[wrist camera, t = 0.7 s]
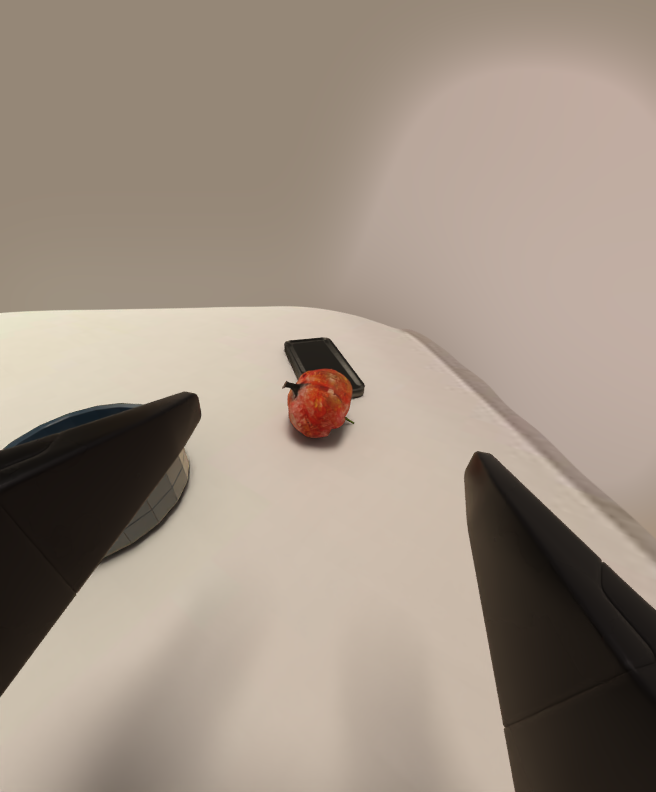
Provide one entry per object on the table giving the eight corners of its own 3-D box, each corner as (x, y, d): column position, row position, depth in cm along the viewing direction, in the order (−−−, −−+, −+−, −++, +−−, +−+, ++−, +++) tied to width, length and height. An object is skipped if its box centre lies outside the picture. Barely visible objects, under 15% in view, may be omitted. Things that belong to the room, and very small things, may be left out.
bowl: (98, 603, 19) (64, 575, 16) (-37, 533, 21) (-87, 499, 18) (218, 458, 28) (210, 425, 26) (115, 423, 31) (98, 390, 28)
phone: (328, 336, 48) (367, 388, 37) (328, 342, 49) (366, 395, 38) (282, 341, 46) (309, 397, 35) (282, 347, 47) (309, 404, 36)
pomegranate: (334, 415, 38) (271, 375, 34) (376, 385, 34) (310, 335, 30) (333, 464, 33) (257, 424, 28) (382, 435, 29) (304, 383, 24)
